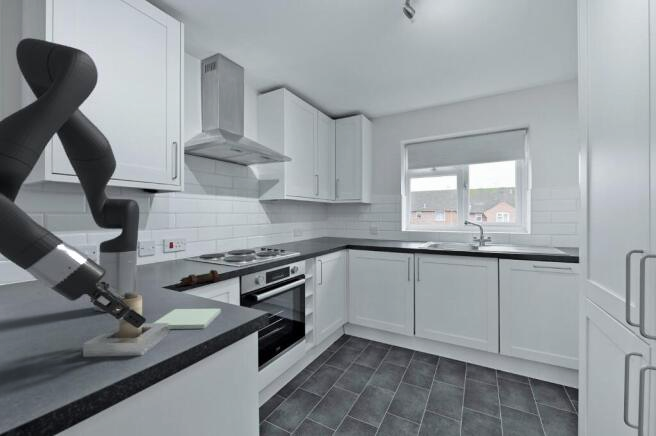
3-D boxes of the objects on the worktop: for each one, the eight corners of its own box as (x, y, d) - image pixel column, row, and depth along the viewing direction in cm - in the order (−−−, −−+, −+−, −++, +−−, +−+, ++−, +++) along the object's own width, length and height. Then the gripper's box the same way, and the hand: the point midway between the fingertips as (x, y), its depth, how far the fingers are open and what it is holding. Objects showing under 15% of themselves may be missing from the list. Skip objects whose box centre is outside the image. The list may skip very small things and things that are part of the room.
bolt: (180, 291, 116) (214, 283, 128) (185, 286, 113) (220, 279, 125) (177, 277, 118) (211, 271, 130) (182, 273, 115) (216, 267, 127)
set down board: (149, 329, 69) (150, 325, 69) (174, 312, 82) (175, 309, 82) (204, 328, 70) (204, 324, 70) (220, 312, 83) (220, 308, 83)
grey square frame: (83, 356, 55) (83, 343, 55) (120, 334, 66) (120, 323, 66) (141, 355, 56) (142, 342, 56) (169, 333, 67) (169, 323, 67)
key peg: (114, 348, 59) (115, 295, 59) (126, 340, 63) (127, 290, 63) (134, 348, 59) (135, 295, 59) (145, 340, 63) (146, 290, 63)
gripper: (86, 260, 51) (160, 313, 58) (86, 253, 62) (149, 298, 69) (44, 294, 47) (128, 346, 55) (52, 280, 58) (121, 325, 66)
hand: (139, 319), depth 62 cm, fingers open, 6 cm apart
